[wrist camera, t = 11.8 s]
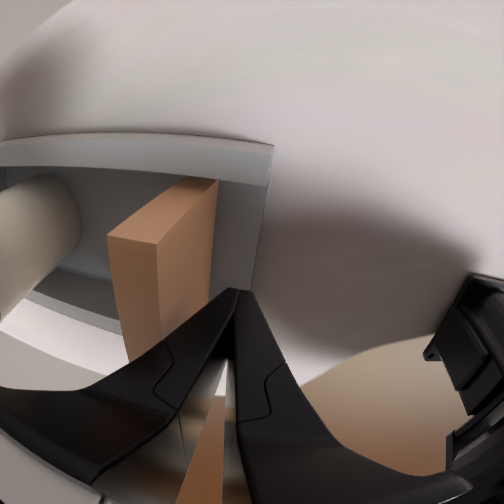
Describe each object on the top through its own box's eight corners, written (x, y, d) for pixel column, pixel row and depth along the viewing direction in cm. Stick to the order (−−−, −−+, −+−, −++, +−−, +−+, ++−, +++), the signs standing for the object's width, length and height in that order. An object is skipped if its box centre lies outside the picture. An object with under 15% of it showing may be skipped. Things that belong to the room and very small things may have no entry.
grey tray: (274, 145, 10) (269, 162, 6) (244, 320, 15) (231, 391, 11) (3, 140, 11) (-51, 159, 7) (20, 262, 15) (-19, 296, 11)
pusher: (219, 177, 11) (156, 244, 5) (208, 300, 13) (171, 404, 8) (190, 173, 11) (106, 234, 5) (185, 295, 13) (138, 394, 8)
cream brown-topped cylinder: (20, 173, 11) (-72, 222, 5) (76, 174, 11) (-38, 236, 5) (32, 249, 13) (-40, 312, 7) (87, 263, 13) (8, 348, 7)
